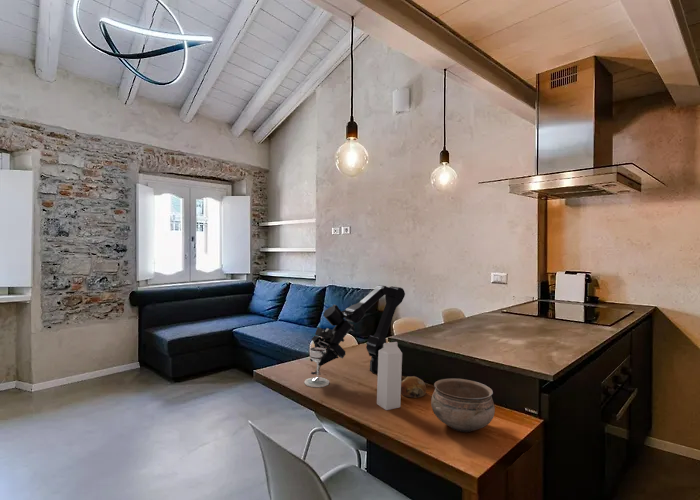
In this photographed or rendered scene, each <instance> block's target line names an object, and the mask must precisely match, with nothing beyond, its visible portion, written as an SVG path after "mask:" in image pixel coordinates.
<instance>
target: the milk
mask: <svg viewBox="0 0 700 500" xmlns="http://www.w3.org/2000/svg"><path fill="white" fill-rule="evenodd" d="M402 365H403V352H402V351H401V349H400V348H399V346H398V341H393V342H390V341H389V342H386V343H384V344H383V348H382V349H380V350H379V352H378V373H377V385H376V386H377V387H376V405H378V406H379V407H380V408H382V409H384V410H385V411H390V410H393V409H398V408H401V395H402V394H401V382H402V372H403V371H402V370H403V369H402V368H403V367H402Z"/></svg>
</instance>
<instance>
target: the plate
mask: <svg viewBox="0 0 700 500" xmlns="http://www.w3.org/2000/svg"><path fill="white" fill-rule="evenodd" d="M312 378H313V377H309V378H306V379H305V380H304V385H305V386H306V387H309V388H325V387H328V386H329V385H330V380H329V379H327V378H325V377H322V378H323V380H322V381H313V380H311V379H312Z"/></svg>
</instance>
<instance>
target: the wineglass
mask: <svg viewBox="0 0 700 500" xmlns="http://www.w3.org/2000/svg"><path fill="white" fill-rule="evenodd" d="M325 353H326V348H323V347H315V346H314V347H311V348H309V358H310V359H312V360H313V361H312V362H314V363H315V364H316V368H317V374H316V376H313V377H311V378H312V379H311V380H313V381H322V380H323V378H324V377H320V376H319V373H318V368H319V365H318V364H319V362H320V360H321V359H322V357H323V356H324V354H325ZM319 369H320V368H319Z"/></svg>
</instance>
